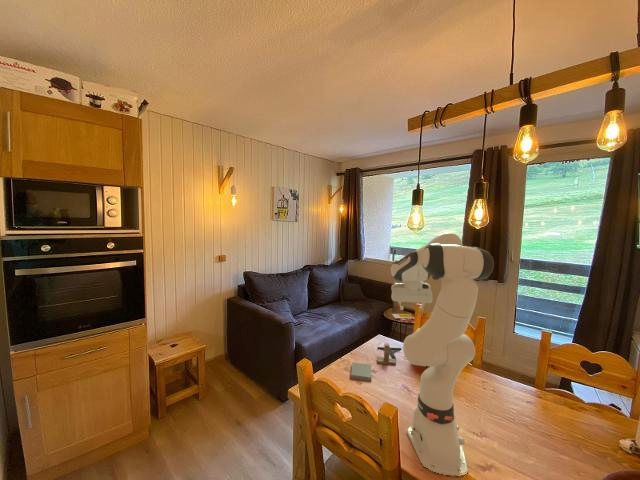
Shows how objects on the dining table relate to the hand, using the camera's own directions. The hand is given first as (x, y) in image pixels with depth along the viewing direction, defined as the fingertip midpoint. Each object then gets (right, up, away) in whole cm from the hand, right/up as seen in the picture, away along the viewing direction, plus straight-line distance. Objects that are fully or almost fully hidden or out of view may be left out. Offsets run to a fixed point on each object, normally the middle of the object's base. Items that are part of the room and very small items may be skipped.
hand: (411, 310), depth 137 cm
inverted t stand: (-10, -33, +12) cm, 36 cm away
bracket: (-5, -33, +21) cm, 39 cm away
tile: (-25, -32, +6) cm, 41 cm away
